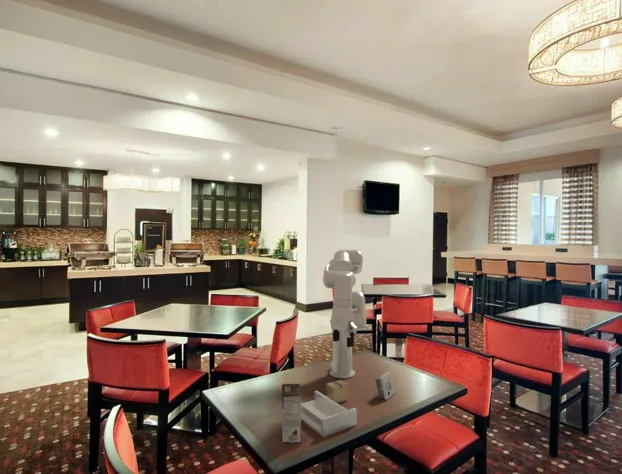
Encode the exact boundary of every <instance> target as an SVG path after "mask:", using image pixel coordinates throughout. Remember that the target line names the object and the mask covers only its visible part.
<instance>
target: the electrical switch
mask: <svg viewBox="0 0 622 474" xmlns="http://www.w3.org/2000/svg"><path fill="white" fill-rule="evenodd" d="M374 382H375V384H376V390H377V393H378V397H379V398H380V399H384V401H388V400H389V399H390V398H391V397H394V396H395V395H396V394H397V390H396V387H395V386H396V385H395V382H394V378H393V374H392V372H391V371H387V372H386V373H384V374H383V373H382V374H381V375H380V376H378V377H376V378H375V379H374Z"/></svg>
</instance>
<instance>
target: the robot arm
mask: <svg viewBox="0 0 622 474" xmlns="http://www.w3.org/2000/svg"><path fill="white" fill-rule="evenodd" d="M363 263H364V258H363V254H362V252H361V251H360V250H358V249H340V250H337V251H336V252H335V253H334V255H333V259H331V260H330V261H329V263H328V265H326V266H325V268H324V270H323V274H322V275H323V276H322V282H323V286H324V287H325V288H327V289H333V306H332V310H331V316H330V320H329V323H330V327H331V332H332V362H330V363H329V365H330V367H331V369H330V371H329V375H330V376H331V377H334V378H335V379H336V378H337V379H351V378H353V377H355V375H356V371H355V370H354V369H353V347H354V346H355V337H356V335H357V331H362V330H363V331H364V330H366V327H367V311H366V310H367V309H366V308H367V307H366V297H365V295H364V293H363V292H362V291H357V290H355V291H353V287H354V286H355V285H356V283H357V277H356V275H359V274H360V273H362V269H363Z"/></svg>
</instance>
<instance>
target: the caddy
mask: <svg viewBox="0 0 622 474" xmlns="http://www.w3.org/2000/svg"><path fill="white" fill-rule="evenodd" d="M313 393H314V395H313V397H314V399H313V400H312V399H311V400H310V401H307V402H301V419H302V420H303V421H304V422H303V421H302V420H301V421H302V422H303V423H305V424H306V425H307V426H309V428H311V429H312V430H313V431H315V432H316V433H317V434H319V436H321V437H323V438H325V437H327V436H330V435H333V434H335V433H339V432H341V431H344V430H348V429H349V428H352V427H355V426H357V425H358V409H357V407H352V408H345V407H344V406H342V405H341V404H340V403H336V402H335V401H333V400H331V399H330V398H328V397H326V394H324V393H322V392H319V391H318V390H314V392H313Z"/></svg>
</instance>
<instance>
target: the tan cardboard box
mask: <svg viewBox="0 0 622 474" xmlns="http://www.w3.org/2000/svg"><path fill="white" fill-rule="evenodd" d="M349 384H350V383H349V382H348V381H345V380H342V379H339V380H334V381H332V382H328V383H326V384H325V386H326V388H325V390H326V391H325V392H326V394H325V396H326V397H328V398H330V399H331V400H333V401H335V402H336V403H338V404H340V403H343V402H348V401H349V399H350V394H349V392H350V391H349V387H350V385H349Z"/></svg>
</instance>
